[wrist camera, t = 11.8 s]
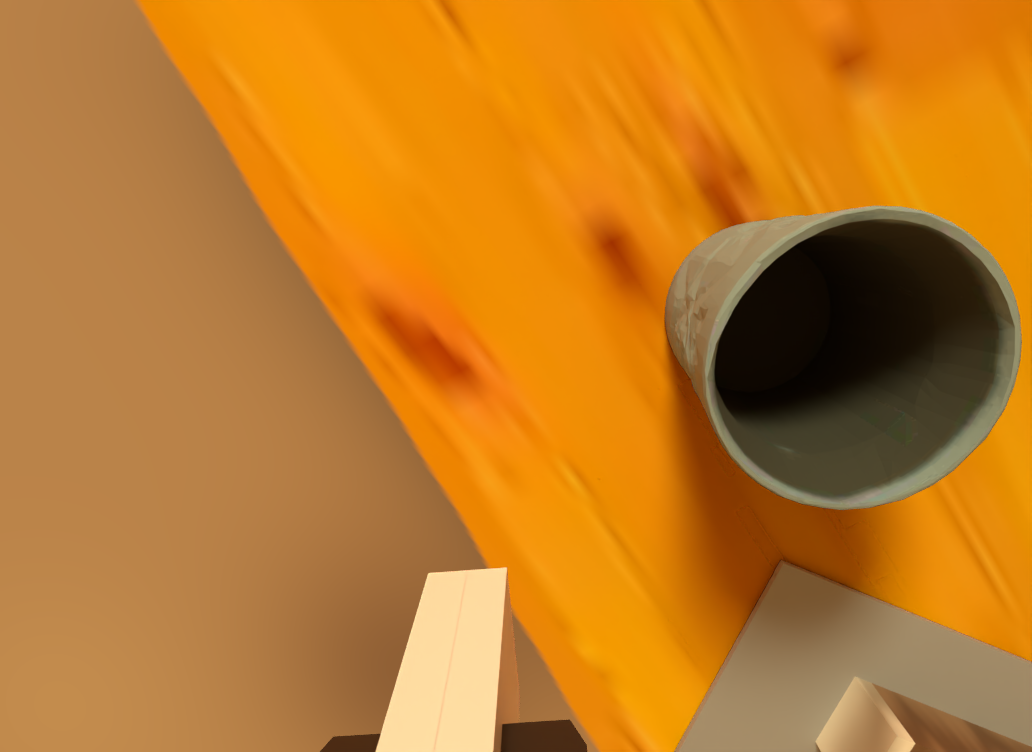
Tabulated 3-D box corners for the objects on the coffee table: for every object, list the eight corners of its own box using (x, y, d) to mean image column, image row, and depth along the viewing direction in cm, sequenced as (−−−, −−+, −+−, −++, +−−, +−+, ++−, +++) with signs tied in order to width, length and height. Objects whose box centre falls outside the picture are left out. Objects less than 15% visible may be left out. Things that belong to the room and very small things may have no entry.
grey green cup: (853, 197, 33) (1029, 185, 21) (858, 403, 35) (1021, 495, 23) (637, 225, 33) (694, 229, 22) (656, 426, 36) (716, 529, 24)
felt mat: (673, 752, 40) (675, 757, 39) (781, 559, 37) (783, 563, 37) (1013, 882, 41) (1017, 888, 41) (1140, 706, 38) (1146, 711, 38)
